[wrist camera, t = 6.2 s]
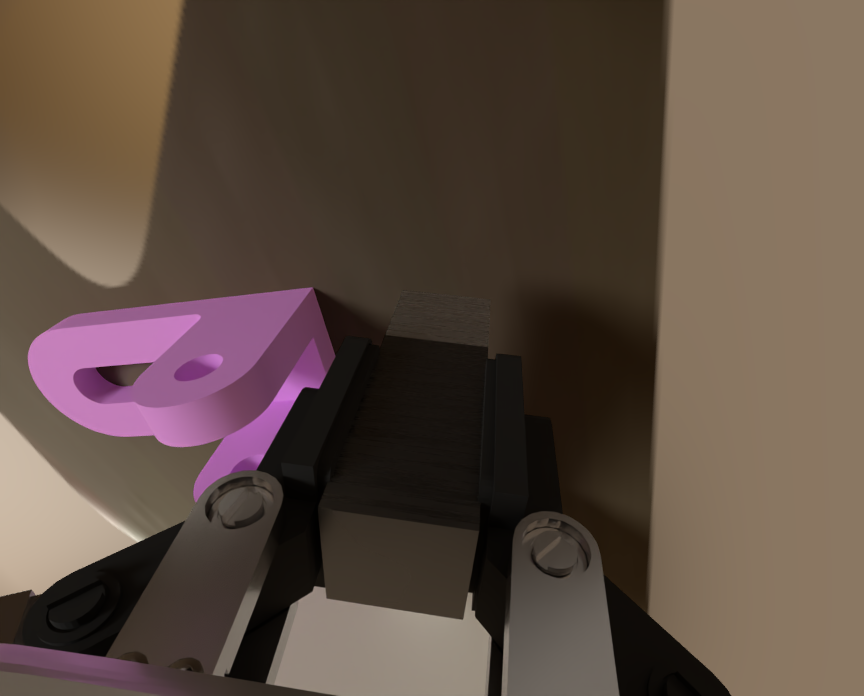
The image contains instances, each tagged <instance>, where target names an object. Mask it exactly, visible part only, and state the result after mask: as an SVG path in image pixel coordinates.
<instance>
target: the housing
mask: <svg viewBox="0 0 864 696" xmlns="http://www.w3.org/2000/svg"><path fill="white" fill-rule="evenodd" d="M489 635H490V634H489V633H488V632H487V631H486V630H485V628H484V627H483V626H482V625H481V624H480V622H479V621H478V620H477V619H476V618H475V611H472V593H468V596H467V601H466V607H465V612H464V618H463V620H460V619H454V618H447V617H441V616H434V615H428V614H422V613H415V612H409V611H403V610H396V609H390V608H383V607H377V606H371V605H364V604H358V603H351V602H345V601H339V600H332V599H326V589H325V588H322V587H316V586H314V589H313V592H311V593H309V594H308V595H306V596H305V597H303V598H301V599H300V600H299V601H298V608H297V611H296V615H295V618H294V621H293V624H292V628H291V631H290V634H289V638H288V641H287V644H286V647H285V651H284V654H283V657H282V660H281V664H280V667H279V670H278V673H277V677H276V680H275V683H274V685H277V686H283V687H289V688H295V689H301V690H307V691H313V692H319V693H325V694H331V695H336V696H485V683H486V669H487V655H488V641H489Z"/></svg>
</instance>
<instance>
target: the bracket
mask: <svg viewBox="0 0 864 696" xmlns="http://www.w3.org/2000/svg"><path fill="white" fill-rule="evenodd" d="M335 357H336V356H335V353H334V350H333V347H332V344H331V341H330V338H329V335H328V332H327V329H326V326H325V323H324V319H323V316H322V313H321V310H320V307H319V304H318V301H317V298H316V295H315V292H314V289H313V287H312V288H303V289H294V290H285V291H276V292H268V293H259V294H250V295H241V296H233V297H224V298H215V299H206V300H197V301H189V302H180V303H171V304H162V305H154V306H145V307H136V308H127V309H118V310H110V311H101V312H92V313H83V314H77V315H73V316H70V317H68V318H66V319H64V320H62V321H61V322H59V323H58V324H56V325H55V326H53V327H52V328H50V329H49V330H47V331H45V332H44V333H42V334H41V335H40V336H38V337H37V338H36V339H35V340H34V341H33V343H32V344H31V346H30V349H29V353H28V364H29V369H30V372H31V375H32V377H33V379H34V381H35V383H36V385H37V386H38V388H39V389H40V391H41V392H42V394H43V395H44V396H45V397H46V398H47V399H48V400H49V401H50V402H51V404H52V405H54V406H55V407H56V408H57V409H58V410H59V411H61V412H62V413H63V414H64V415H66V416H67V417H69V418H70V419H72V420H73V421H75V422H77V423H79V424H80V425H82V426H84V427H87V428H89V429H91V430H94V431H97V432H100V433H103V434H107V435H112V436H121V437H129V436H147V435H155V437H156V438H157V439H158V441H160V442H161V443H163V444H165V445H168V446H173V447H190V446H197V445H202V444H206V443H209V442H213V441H216V440H218V439H221V438H224V437H225V438H224V439H223V441H222V442H221V444H220V445H219V446H218V448H217V449H216V451H215V452H214V454H213V455H212V457H211V458H210V459H209V461H208V462H207V464H206V465H205V467H204V468H203V470H202V471H201V473H200V474H199V476H198V478H197V480H196V482H195V486H194V492H193V493H194V499H195V502H197V500H198V499H199V497H200V496H201V495H202V493H203V492H204V491H205V490H206V488H207V487H208V486H210V485H211V484H212V483H214V482H215V481H216V480H218V479H220V478H222V477H224V476H226V475H228V474H231V473H235V472H239V471H243V470H257V468H258V466H259V464H260V463H261V461H262V459H263V457H264V455H265V454H266V452H267V450H268V448H269V447H270V445H271V443H272V441H273V439H274V438H275V436H276V434H277V432H278V431H279V429H280V427H281V425H282V423H283V422H284V420H285V418H286V416H287V415H288V413H289V411H290V409H291V407H292V406H293V404H294V402H295V400H296V399H297V397H298V395H299V393H300V392H301V390H302V389H303V388H305V387H310V388H318V389H319V388H320V386H321V384H322V382H323V380H324V378H325V376H326V374H327V372H328V370H329V368H330V366H331V364H332V362H333V360H334V359H335ZM149 362H154V363H153V364H152V365H151V366H150V367H148V368H147V369H146V370H145V371H144V372H143V373H142V374H141V375H140V376H139V377H138V379H137V380H136V381H135V383H134V385H133V386H118V385H115V384H112V383H110V382H108V381H107V380H105V379H104V378H103V377H102V376H101V375H100V374H99V373H98V371H97V370H96V367H104V366H115V365H126V364H138V363H149Z"/></svg>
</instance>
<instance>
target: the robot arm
mask: <svg viewBox="0 0 864 696" xmlns="http://www.w3.org/2000/svg"><path fill="white" fill-rule="evenodd" d="M379 353H380V348H379V346H376V345H372V341H371V339H370V338H361V337H353V336H346V338H345V339H344V341H343V343H342V345H341V347H340V349H339V351H338V353H337V355H336V357H335V359H334V360H333V362H332V364H331V366H330V368H329V370H328V372H327V374H326V376H325V378H324V380H323V382H322V384H321V386H320V388H319V389H318V388H310V387H305V388H303V389H302V390H301V392H300V393H299V395H298V397H297V399H296V400H295V402H294V404H293V406H292V407H291V409H290V411H289V413H288V415H287V416H286V418H285V420H284V422H283V423H282V425H281V427H280V429H279V431H278V432H277V434H276V436H275V438H274V439H273V441H272V443H271V445H270V447H269V448H268V450H267V452H266V454H265V455H264V457H263V459H262V461H261V463H260V464H259V466H258V468H257V470H243V471H239V472H235V473H231V474H228V475H226V476H224V477H222V478H220V479H218V480H216V481H215V482H214V483H212V484H211V485H210V486H208V487H207V488H206V490H205V491H204V492H203V493H202V495H201V496H200V497H199V499H198V500H197V502H196V504H195V505H194V507H193V509H192V511H191V512H190V514H189V516H188V517H187V519H186V521H184V522H181V523H179V524H177V525H175V526H173V527H171V528H168V529H166V530H164V531H162V532H160V533H157V534H155V535H153V536H151V537H149V538H147V539H144V540H142V541H140V542H138V543H136V544H134V545H132V546H130V547H127V548H125V549H123V550H121V551H118V552H116V553H114V554H112V555H110V556H107V557H105V558H103V559H101V560H99V561H97V562H95V563H92V564H90V565H88V566H86V567H84V568H82V569H79V570H77V571H75V572H73V573H71V574H69V575H68V576H66V577H64V578H62V579H61V580H59V581H57V582H56V583H55V584H53V586H51V587H50V588H49V589H47V590H46V591H45V592H44V593H43V594H40V595H35V594H34V592H33V591H32V590H28V591H23V592H19V593H15V594H10V595H6V596H1V597H0V696H336V695H331V694H325V693H319V692H313V691H307V690H301V689H295V688H289V687H283V686H277V685H274V683H275V680H276V677H277V673H278V670H279V667H280V664H281V660H282V657H283V654H284V651H285V647H286V644H287V641H288V638H289V634H290V631H291V628H292V624H293V621H294V618H295V615H296V611H297V608H298V601H299V600H300V599H301V598H303V597H305V596H306V595H308V594H309V593H311V592H313V589H314V586H316V587H322V588H325V579H324V569H323V559H322V548H321V538H320V528H319V518H318V506H319V503H320V500H321V498H322V495H323V493H324V490H325V488H326V485H327V483H328V481H330V480H331V477H332V475H333V472H334V469H335V467H336V464H337V462H338V459H339V456H340V454H341V451H342V449H343V446H344V444H345V441H346V438H347V436H348V433H349V431H350V428H351V425H352V423H353V420H354V418H355V415H356V412H357V410H358V407H359V405H360V402H361V399H362V397H363V394H364V392H365V389H366V386H367V384H368V381H369V379H370V376H371V374H372V371H373V368H374V366H375V363H376V361H377V358H378V355H379ZM478 502H481V503H480V523H479V535H478V540H477V546H476V551H475V557H474V562H473V568H472V573H471V579H470V584H469V590H468V593H472V611H475V618H476V619H477V620H478V621H479V622H480V624H481V625H482V626H483V627H484V628H485V630H486V631H487V632H488V633H489V634H490V635H489V641H488V655H487V669H486V683H485V696H731V695H730V693H729V691H728V690H727V688H725V686H724V685H723V684H722V683H721V682H720V681H719V679H717V677H716V676H715V675H714V674H713V673H712V672H711V671H710V670H709V669H708V668H706V667H705V666H704V665H703V664H702V663H701V662H700V661H699V660H698V659H696V658H695V657H694V656H693V655H692V654H691V653H690V652H689V651H688V650H686V649H685V648H684V647H683V646H682V645H681V644H680V643H679V642H678V641H676V640H675V639H674V638H673V637H672V636H671V635H670V634H669V633H668V632H667V631H666V630H664V629H663V628H662V627H661V626H660V625H659V624H658V623H657V622H655V621H654V620H653V619H652V618H651V617H650V616H649V615H648V614H647V613H646V612H644V611H643V610H642V609H641V608H640V607H639V606H638V605H637V604H636V603H635V602H633V601H632V600H631V599H630V598H629V597H628V596H627V595H626V594H625V593H623V592H622V591H621V590H620V589H619V588H618V587H617V586H616V585H615V584H613V583H612V582H611V581H610V580H609V579H608V578H607V577H606V576H605V575H604V574H603V569H602V561H601V554H600V551H599V548H598V545H597V542H596V541H595V539H594V538H593V536H592V535H591V533H590V532H589V531H588V530H587V529H586V528H585V527H584V526H583V525H582V524H580V523H579V522H578V521H576V520H574V519H572V518H571V517H569V516H567V515H563V512H562V504H561V496H560V488H559V480H558V472H557V464H556V455H555V447H554V439H553V431H552V424H551V420H550V418H547V417H539V416H531V415H524V400H523V381H522V363H521V356H513V355H505V354H496V359H495V360H493V359H486V365H485V384H484V403H483V421H482V440H481V458H480V477H479V495H478Z"/></svg>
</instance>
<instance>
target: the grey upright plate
mask: <svg viewBox="0 0 864 696" xmlns="http://www.w3.org/2000/svg"><path fill="white" fill-rule="evenodd" d="M489 318H490V300H488V299H479V298H471V297H462V296H453V295H444V294H435V293H426V292H417V291H408V290H403V291H402V293H401V296H400V299H399V301H398V304H397V306H396V309H395V311H394V314H393V316H392V319H391V322H390V324H389V327H388V329H387V332H386V334H385V337H384V339H383V342H382V345H381V347H380V353H379V355H378V358H377V361H376V363H375V366H374V368H373V371H372V374H371V376H370V379H369V381H368V384H367V386H366V389H365V392H364V394H363V397H362V399H361V402H360V405H359V407H358V410H357V412H356V415H355V418H354V420H353V423H352V425H351V428H350V431H349V433H348V436H347V438H346V441H345V444H344V446H343V449H342V451H341V454H340V456H339V459H338V462H337V464H336V467H335V469H334V472H333V475H332V477H331V480H330V481H328V483H327V485H326V488H325V490H324V493H323V495H322V498H321V500H320V503H319V506H318V518H319V528H320V538H321V548H322V559H323V569H324V579H325V589H326V599H332V600H339V601H345V602H351V603H358V604H364V605H371V606H377V607H383V608H390V609H396V610H403V611H409V612H415V613H422V614H428V615H434V616H441V617H447V618H454V619H460V620H463V618H464V612H465V607H466V601H467V596H468V590H469V584H470V579H471V573H472V568H473V562H474V557H475V551H476V546H477V540H478V535H479V523H480V503H481V502H478V495H479V477H480V458H481V440H482V421H483V403H484V384H485V365H486V359H488V339H489Z"/></svg>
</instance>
